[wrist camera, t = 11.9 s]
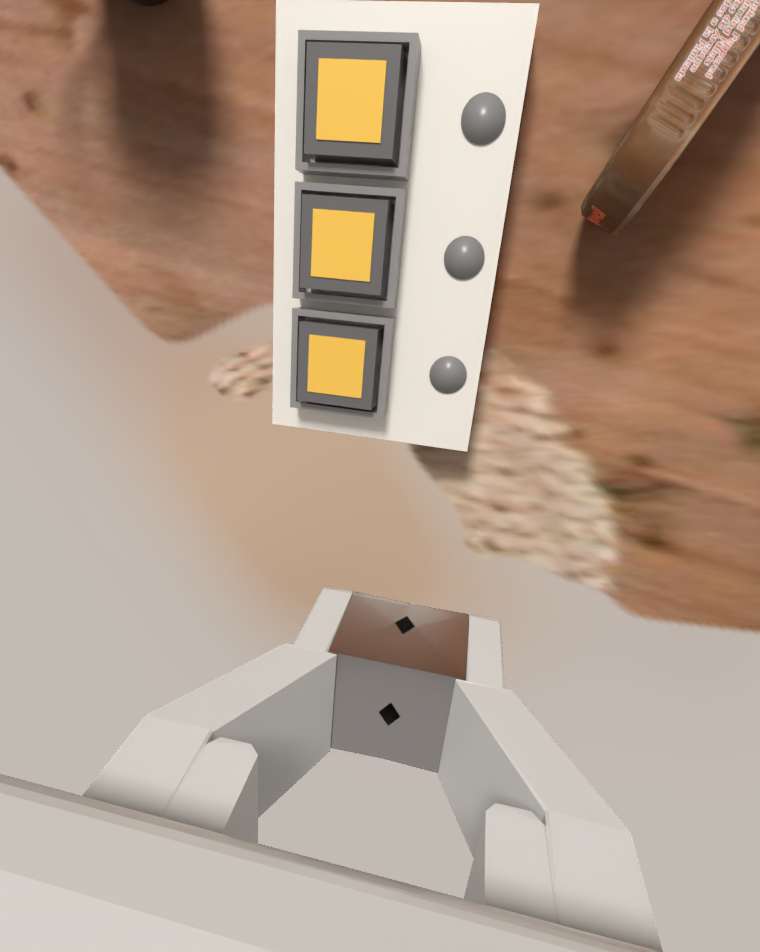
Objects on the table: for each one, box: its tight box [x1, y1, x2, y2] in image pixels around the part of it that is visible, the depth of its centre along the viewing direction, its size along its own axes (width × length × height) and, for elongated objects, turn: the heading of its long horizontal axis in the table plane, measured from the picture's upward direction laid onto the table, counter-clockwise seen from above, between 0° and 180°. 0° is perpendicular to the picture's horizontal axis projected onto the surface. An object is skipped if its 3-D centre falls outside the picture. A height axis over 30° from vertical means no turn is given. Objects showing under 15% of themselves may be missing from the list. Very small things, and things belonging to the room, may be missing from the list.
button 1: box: [304, 42, 407, 167], centre depth 28 cm, size 5×5×2 cm
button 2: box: [297, 319, 384, 410], centre depth 33 cm, size 5×5×2 cm
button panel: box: [273, 0, 539, 452], centre depth 32 cm, size 14×24×4 cm, turn 175°
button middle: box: [300, 194, 394, 296], centre depth 30 cm, size 5×5×2 cm
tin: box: [581, 0, 760, 237], centre depth 24 cm, size 15×3×8 cm, turn 150°
